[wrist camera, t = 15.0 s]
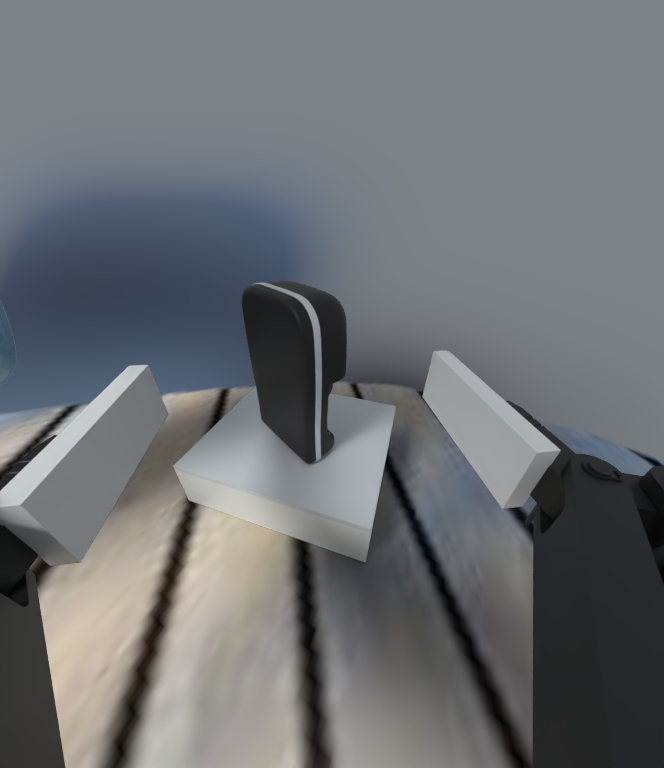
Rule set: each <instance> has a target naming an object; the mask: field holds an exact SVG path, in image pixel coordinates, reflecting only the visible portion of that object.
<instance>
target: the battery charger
mask: <svg viewBox="0 0 664 768" xmlns="http://www.w3.org/2000/svg"><path fill="white" fill-rule="evenodd" d="M242 309H243V315H244V323H245V329H246V335H247V342H248V347H249V353H250V358H251V364H252V369H253V374H254V379H255V383H256V389H257V395H258V401H259V407H260V413H261V419H262V421H263V422H264V423H265V424H266V425H267V426H268V427H269V428H270V429H271V430H272V431H273V432H274V433H275V434H276V435H277V436H278V437H279V438H280V439H281V440H282V441H283V442H284V443H285V444H286V445H287V446H288V447H289V448H290V449H291V450H292V451H293V452H295V453H296V454H297V455H298V456H299V457H300V458H301V459H302V460H303V461H304V462H305V463H307V464H311V463H313V462H317V461H318V460H320V459H321V457H322V456H323V455H325V454H326V453H328V451H329V450H330V449H331V448H332V447H333V445H334V435H333V433H331V432H330V431H329V430H328V428H327V414H328V397H329V394H330V392H331V390H332V388H333V383H335V382H337V381H339V380H340V379H342V378H343V377H344V376H345V373H346V344H347V342H346V341H347V339H346V316H345V312H344V309H343V307H342V305H341V304H340V302H339V301H338V300H337V299H336V298H335V297H334V296H332V295H330V294H328V293H326V292H324V291H321V290H318V289H316V288H312V287H310V286H307V285H303V284H299V283H295V282H291V281H277V282H271V283H263V282H262V283H256V284H253V285H252V286H249V287H247V288H246V289H245V290H244V292H243V295H242Z"/></svg>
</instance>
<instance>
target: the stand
mask: <svg viewBox="0 0 664 768" xmlns="http://www.w3.org/2000/svg"><path fill="white" fill-rule="evenodd" d="M395 410H396V406H393V405H388V404H383V403H378V402H373V401H368V400H363V399H358V398H353V397H348V396H343V395H338V394H333V393H330V394H329V397H328V414H327V428H328V430H329V431H330V432H331V433H333V435H334V445H333V447H332V448H331V449H330V450H329V451H328V453H326V454H325V455H323V456H322V457H321V459H320V460H318V461H317V462H313V463H311V464H307V463H305V462H304V461H303V460H302V459H301V458H300V457H299V456H298V455H297V454H296V453H295V452H293V451H292V450H291V449H290V448H289V447H288V446H287V445H286V444H285V443H284V442H283V441H282V440H281V439H280V438H279V437H278V436H277V435H276V434H275V433H274V432H273V431H272V430H271V429H270V428H269V427H268V426H267V425H266V424H265V423H264V422H263V421H262V419H261V413H260V407H259V401H258V395H257V389H256V386H255V387H254V388H253V389H252V390H251V391H250V392H249V393H248V394H247V395H246V396H245V397H243V398H242V399H241V400H240V401H239V402H238V403H237V404H236V405H235V406H234V407H233V408H232V409H231V410H230V411H229V412H228V413H227V414H226V415H225V416H224V417H223V418H222V419H221V420H220V421H219V422H218V423H217V424H216V425H215V426H214V427H213V428H212V429H211V430H209V431H208V432H207V433H206V434H205V435H204V436H203V437H202V438H201V439H200V440H199V441H198V442H197V443H196V444H195V445H194V446H193V447H192V448H191V449H190V450H189V451H188V452H187V453H186V454H185V455H184V456H183V457H182V458H181V459H180V460H179V461H178V462H176V463H175V464H174V465H173V467H174V469H175V471H176V474H177V476H178V478H179V480H180V482H181V484H182V487H183V489H184V491H185V493H186V495H187V497H188V500H189V501H192V502H195V503H198V504H201V505H203V506H206V507H209V508H212V509H215V510H218V511H220V512H223V513H226V514H229V515H232V516H235V517H237V518H240V519H243V520H246V521H249V522H252V523H254V524H257V525H260V526H263V527H266V528H268V529H271V530H274V531H277V532H280V533H283V534H285V535H288V536H291V537H294V538H297V539H300V540H302V541H305V542H308V543H311V544H314V545H317V546H319V547H322V548H325V549H328V550H331V551H334V552H336V553H339V554H342V555H345V556H348V557H351V558H353V559H356V560H359V561H362V562H365V563H366V559H367V554H368V549H369V544H370V539H371V533H372V528H373V523H374V518H375V513H376V508H377V503H378V498H379V493H380V488H381V483H382V477H383V472H384V467H385V462H386V457H387V452H388V447H389V442H390V437H391V431H392V426H393V420H394V415H395Z"/></svg>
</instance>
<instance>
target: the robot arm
mask: <svg viewBox="0 0 664 768" xmlns="http://www.w3.org/2000/svg"><path fill="white" fill-rule="evenodd" d="M15 366H16V349H15V343H14V338H13V335H12V331H11V328H10V324H9V322H8V318H7V316H6V313H5V310H4V308H3V305H2V302H1V300H0V385H1V384H3V383H4V382H5V381H6V380H7V379H8V377H9V376H10V375H11V374H12V373H13V371H14V368H15ZM422 397H423V398H424V400H425V401H426V402H427V404H428V405H429V407H430V408H431V409H432V411H433V412H434V414H435V415H436V416H437V418H438V419H439V421H440V422H441V423H442V425H443V426H444V428H445V429H446V430H447V432H448V433H449V435H450V436H451V437H452V439H453V440H454V442H455V443H456V444H457V446H458V447H459V449H460V450H461V451H462V453H463V454H464V456H465V457H466V458H467V460H468V461H469V463H470V464H471V465H472V467H473V468H474V470H475V471H476V473H477V474H478V475H479V477H480V478H481V480H482V481H483V482H484V484H485V485H486V487H487V488H488V489H489V491H490V492H491V494H492V495H493V496H494V498H495V499H496V501H497V502H498V503H499V505H500V506H501V508H502V509H506V508H513V507H521V506H523V505H524V504H525V502H526V501H527V499H528V498H529V496H530V495H531V496H532V498H533V499H534V500H535V501H536V502H537V505H536V506H535V508H534V509H533V510H532V512H531V513H530V514H529V516H528V517H527V519H526V521H525V523H524V524H526V525H529V524H530V522H531V521H532V520H534V549H533V768H664V466H655V467H652V468H651V469H650V470H649V471H648V472H647V473H646V474H645V475H644V476H638V475H631V474H625V473H621V472H620V471H619V470H618V469H617V468H615V467H614V466H612V465H611V464H609V463H607V462H606V461H604V460H601V459H599V458H596V457H594V456H590V455H585V454H575V453H574V452H573V451H572V450H571V449H570V448H568V447H567V446H566V445H565V444H564V443H563V442H561V441H560V440H559V439H558V438H557V437H555V436H554V435H553V434H552V433H551V432H550V431H548V430H547V429H546V428H545V427H544V426H541V424H540V423H539V422H538V421H537V420H535V419H533V418H532V416H531V415H530V414H528V413H527V412H526V411H525V410H524V409H523V408H521V407H519V406H517V405H515V404H514V403H512V402H510V401H505V400H503V399H502V398H501V397H500V396H499V395H498V394H497V393H495V392H494V391H493V390H492V389H491V388H490V387H489V386H488V385H486V384H485V383H484V382H483V381H482V380H481V379H480V378H479V377H477V376H476V375H475V374H474V373H473V372H472V371H471V370H470V369H468V368H467V367H466V366H465V365H464V364H463V363H462V362H460V361H459V360H458V359H457V358H456V357H455V356H454V355H453V354H452V353H450V352H449V351H448V350H447V351H434V352H433V355H432V360H431V364H430V368H429V372H428V376H427V380H426V384H425V388H424V392H423V396H422ZM167 416H168V412H167V410H166V407H165V405H164V402H163V400H162V398H161V395H160V393H159V391H158V388H157V386H156V383H155V381H154V378H153V376H152V373H151V371H150V369H149V366H148V365H137V366H128V367H127V368H126V369H125V370H124V371H123V372H122V373H121V374H120V375H119V376H118V377H117V378H116V379H115V380H114V381H113V382H112V383H111V384H110V385H109V386H108V387H107V388H106V389H105V390H104V391H103V392H102V393H101V394H100V395H99V396H97V397H96V398H95V400H93V401H92V402H91V403H90V404H89V405H88V406H87V407H86V408H85V409H84V410H83V411H82V412H81V413H80V414H79V415H78V416H77V417H76V418H75V419H74V420H73V421H72V422H71V423H70V424H69V425H68V426H67V427H66V428H65V429H64V430H62V431H61V432H60V433H59V434H58V435H54V436H52V437H51V438H49V439H47V440H46V441H44V442H43V443H41V444H39V445H38V446H36V447H35V448H34V449H33V450H32V451H30V452H29V453H28V454H27V455H26V456H25V457H24V458H23V459H22V460H21V463H18V464H17V465H15V466H14V467H13V468H12V469H11V470H10V471H9V474H8V475H5V476H4V477H3V478H2V479H0V768H65V763H64V757H63V750H62V744H61V738H60V731H59V725H58V719H57V712H56V706H55V700H54V693H53V687H52V680H51V674H50V668H49V661H48V655H47V649H46V642H45V636H44V630H43V623H42V617H41V611H40V604H39V598H38V592H37V585H36V579H35V575H34V574H33V572H32V571H31V570H30V569H29V568H30V566H31V565H32V563H33V562H34V561H35V559H36V558H37V557H38V556H39V557H40V558H41V559H43V560H44V561H45V562H46V563H47V564H49V565H50V566H55V565H63V564H71V563H79V562H81V561H82V559H83V557H84V556H85V554H86V552H87V550H88V549H89V547H90V545H91V544H92V542H93V540H94V539H95V537H96V535H97V534H98V532H99V530H100V529H101V527H102V525H103V523H104V522H105V520H106V518H107V517H108V515H109V513H110V512H111V510H112V508H113V507H114V505H115V503H116V502H117V500H118V498H119V496H120V495H121V493H122V491H123V490H124V488H125V486H126V485H127V483H128V481H129V480H130V478H131V476H132V475H133V473H134V471H135V470H136V468H137V466H138V464H139V463H140V461H141V459H142V458H143V456H144V454H145V453H146V451H147V449H148V448H149V446H150V444H151V443H152V441H153V439H154V437H155V436H156V434H157V432H158V431H159V429H160V427H161V426H162V424H163V422H164V421H165V419H166V417H167Z"/></svg>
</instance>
